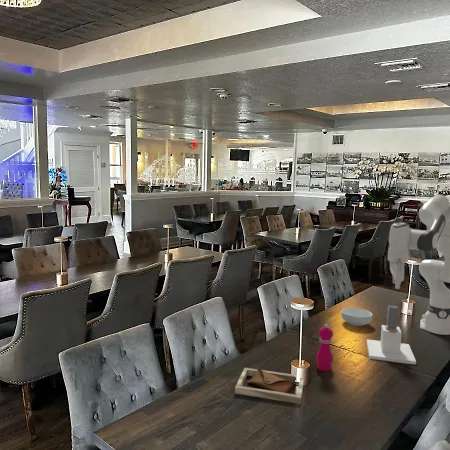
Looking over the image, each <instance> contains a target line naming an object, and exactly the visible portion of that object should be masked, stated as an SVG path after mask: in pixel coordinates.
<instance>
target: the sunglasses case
mask: <svg viewBox="0 0 450 450" xmlns="http://www.w3.org/2000/svg"><path fill="white" fill-rule="evenodd" d="M262 370H263V369H260V368H257V371H256V373H255V374H254V376H251V378H250V379H249V381H247V384H250V385H253V386H256V387H257V388H259V389H262V390H269V391H275V392H282V393H288V394H294V392H295V391H296V385H295V382H291V381H287V380H285V379H282V378H280V377H278V376H275V375H273V374H270V373H267V372H265V371H266V370H264V371H262Z"/></svg>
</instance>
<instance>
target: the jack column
mask: <svg viewBox="0 0 450 450" xmlns="http://www.w3.org/2000/svg"><path fill="white" fill-rule="evenodd" d="M386 313H387V315H386V330H391V331H397V327H398V315H399V308H398V306H397V305H393V304H392V305H390V304H389V305H387V312H386Z"/></svg>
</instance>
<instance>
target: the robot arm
mask: <svg viewBox="0 0 450 450" xmlns="http://www.w3.org/2000/svg"><path fill="white" fill-rule="evenodd" d="M418 218H419V220H420V221H421V223H422V224H424V225H425V226H427V227H430V229H428V230H427V229H426V230H424V229H423V230H422V229H414V228H411V227H410V225H409V223H407V222H395V223H393V224H391V226H390V230H389V236H388V243H389V245H388V251H387V261H389V271H390V273H391V275H392V284H394V287H395V290H400V289H401V283H402V282H403V281H405V266H406V264H405V263H408V262H409V253H410V252H409V250H413V251H414V250H415V251H419V252H423V253H427V254H428V253H431V252H433V251H434V250H436V251H437V252H438V253H439V254H441V255H443V257H444V261H443V260H439V259H424V260H422V261H421V262H420V263H419V266H418V271H419V274H420V275H421V276H422V277H423V278H424V280H425V282H426V283H427V285H428V288H429V303H428V305H427V310H426V312H425V313H424V314H421V319H420V323H419V325H420V326H419V329H420V330H421V329H422V330H424V331H427V332H429V333H433V334H435V335H436V334H437V335H442V336H443V335H444V336H445V335H447V336H449V335H450V288H448V287H447V286H446V285H445V283H449V284H450V200H449V198H448V197H447V196H445V195H442V194H438V195H434V196H433V197H431V198H430V199H428V200H427V201H426V202H425V203H423V204H422V206H421V207H420V209H419V211H418Z"/></svg>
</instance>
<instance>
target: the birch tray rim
mask: <svg viewBox="0 0 450 450" xmlns="http://www.w3.org/2000/svg"><path fill="white" fill-rule="evenodd" d="M257 370H258V368H257V369H256V368H249V367H243V370H242V372H241V374H240V376H239V378H238V380H237V383H236V384H235V386H234V394H236V395H242V396H243V395H244V396H248V397H249V396H250V397H254V398H255V397H257V398H261V399H267V400H274V401H278V402H279V401H280V402H287V403H292V404H298V405H301V403H302V399H303V398H302V397H303V390H304V384H305V377H304V378H300V382H299V383H298V386H297V392H296V393H297V394H295V393H292V394H288V393H282V392H275V391H269V390H264V389H262V388H256V387H255V388H254V387H249V386H244V383H245V381H246V379H247V376H249V377H253V376H254V374H255V373H256V371H257ZM261 370H262V371H265V372H267V373H270V374H273V375H275V376H278V377H280V378H282V379H285V380H287V381H291V382H293V383H295V380H296V377H295V376H294V375H295V374H292V373H286V372H285V373H284V372H277V371H269V370H264V369H261Z"/></svg>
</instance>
